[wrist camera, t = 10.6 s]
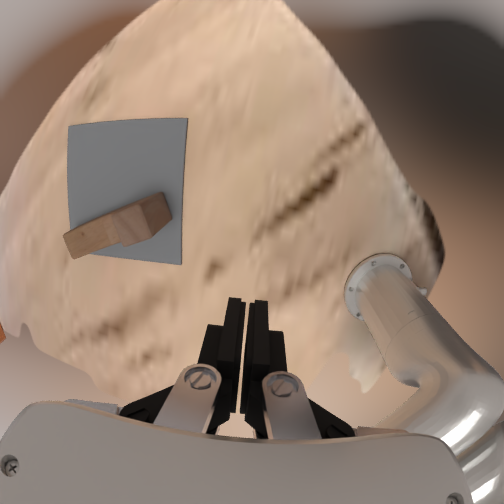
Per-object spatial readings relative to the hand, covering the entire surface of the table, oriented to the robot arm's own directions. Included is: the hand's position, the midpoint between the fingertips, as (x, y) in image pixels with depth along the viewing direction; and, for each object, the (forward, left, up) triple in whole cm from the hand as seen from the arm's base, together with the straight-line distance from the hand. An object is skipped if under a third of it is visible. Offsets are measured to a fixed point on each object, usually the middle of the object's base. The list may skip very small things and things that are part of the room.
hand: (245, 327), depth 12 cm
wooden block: (+12, +2, -24) cm, 27 cm away
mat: (+21, 0, -29) cm, 36 cm away
